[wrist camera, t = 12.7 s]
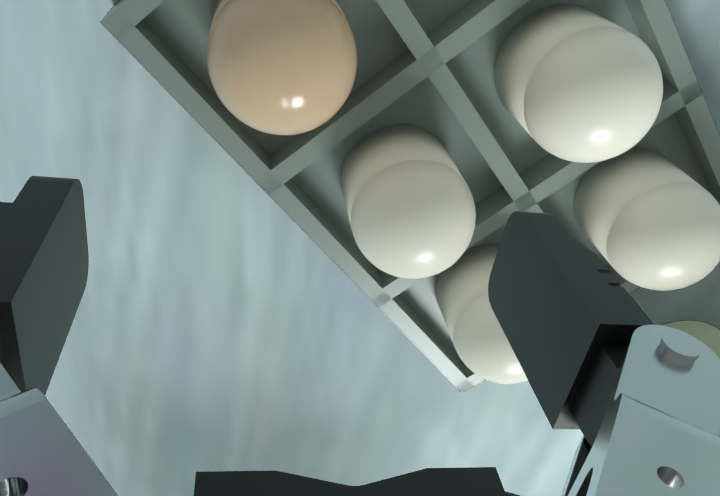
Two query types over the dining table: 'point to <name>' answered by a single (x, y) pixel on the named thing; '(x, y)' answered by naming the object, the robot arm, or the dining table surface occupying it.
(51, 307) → the robot arm
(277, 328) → the dining table surface
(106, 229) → the dining table surface
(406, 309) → the egg carton
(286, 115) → the brown egg
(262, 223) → the dining table surface
